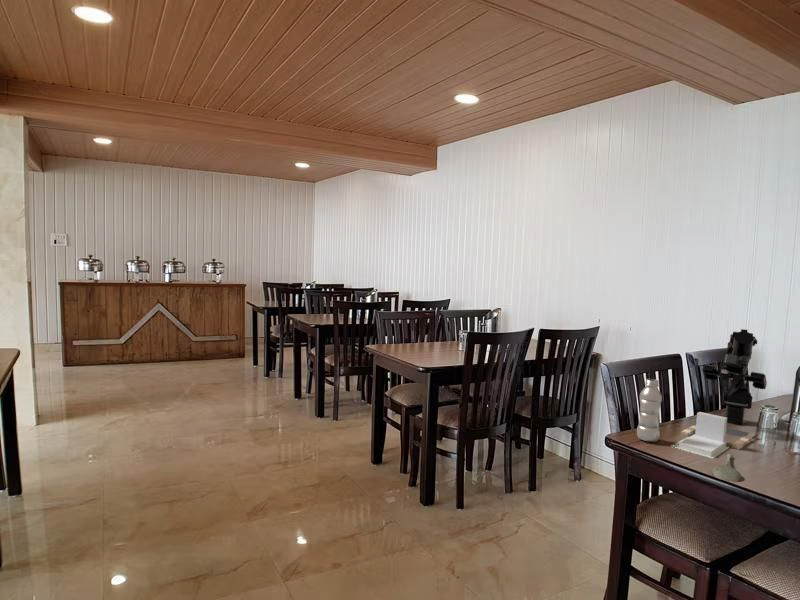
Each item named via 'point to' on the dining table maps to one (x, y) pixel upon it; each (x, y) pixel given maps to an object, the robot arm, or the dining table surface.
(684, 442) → the white l-shaped bracket
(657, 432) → the plastic bottle
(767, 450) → the dining table surface
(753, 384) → the robot arm
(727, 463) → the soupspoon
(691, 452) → the mat
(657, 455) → the dining table surface
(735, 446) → the channel
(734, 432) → the mat
